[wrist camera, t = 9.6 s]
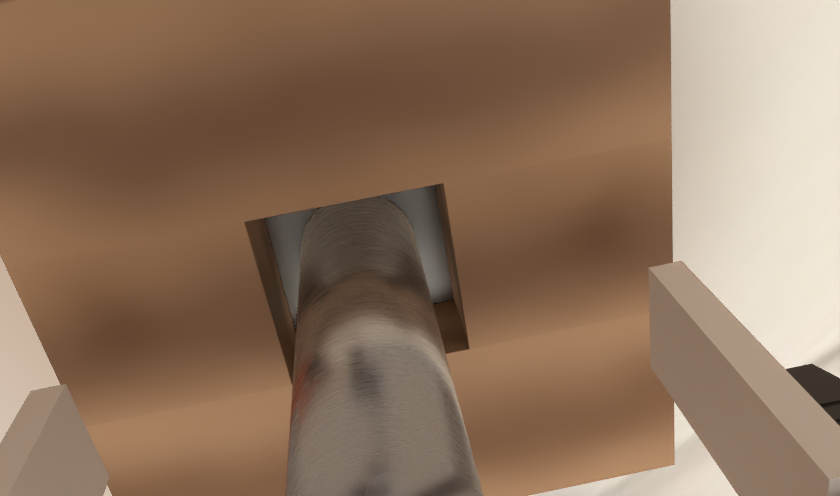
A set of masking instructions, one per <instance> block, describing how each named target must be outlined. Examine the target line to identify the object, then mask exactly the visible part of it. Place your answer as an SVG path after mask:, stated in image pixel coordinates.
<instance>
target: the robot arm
mask: <svg viewBox="0 0 840 496" xmlns="http://www.w3.org/2000/svg"><path fill="white" fill-rule="evenodd" d="M649 316H650V365H651V368H652V369H653V371H654V372H655V374H656V375H657V377H658V378H659V380H660V381H661V383H662V384H663V386H664V387H665V388H666V390H667V391H668V393H669V394H670V396H671V397H672V399H673V400H674V402H675V403H676V405H677V406H678V408H679V409H680V410H681V412H682V413H683V415H684V416H685V418H686V419H687V421H688V422H689V424H690V425H691V427H692V428H693V430H694V431H695V432H696V434H697V435H698V437H699V438H700V440H701V441H702V443H703V444H704V446H705V447H706V449H707V450H708V452H709V453H710V454H711V456H712V457H713V459H714V460H715V462H716V463H717V465H718V466H719V468H720V469H721V471H722V472H723V474H724V475H725V476H726V478H727V479H728V481H729V482H730V484H731V485H732V487H733V488H734V490H735V491H736V493H737V494H738V496H840V378H838V377H836V376H834V375H832V374H831V373H829V372H827V371H825V370H823V369H821V368H819V367H817V366H815V365H813V364H808V365H804V366H799V367H794V368H789V369H785V368H784V367H783V366H782V365H781V364H780V363H779V362H778V361H777V360H776V359H775V358H774V357H773V356H772V355H771V354H770V353H769V352H768V351H767V350H766V349H765V348H764V346H763V345H762V344H761V343H760V342H759V341H758V340H757V339H756V338H755V337H754V336H753V335H752V334H751V333H750V332H749V331H748V330H747V329H746V328H745V327H744V326H743V325H742V324H741V322H740V321H739V320H738V319H737V318H736V317H735V316H734V315H733V314H732V313H731V312H730V311H729V310H728V309H727V308H726V307H725V306H724V305H723V304H722V303H721V302H720V301H719V299H718V298H717V297H716V296H715V295H714V294H713V293H712V292H711V291H710V290H709V289H708V288H707V287H706V286H705V285H704V284H703V283H702V282H701V281H700V280H699V279H698V278H697V276H696V275H695V274H694V273H693V272H692V271H691V270H690V269H689V268H688V267H687V266H686V265H685V264H684V263H683V262H682V261H679V262H674V263H669V264H664V265H659V266H654V267H649ZM109 478H110V477H109V475H108V473H107V470H106V468H105V466H104V464H103V462H102V460H101V458H100V456H99V453H98V451H97V449H96V447H95V445H94V443H93V441H92V439H91V436H90V434H89V432H88V430H87V428H86V426H85V424H84V422H83V419H82V417H81V415H80V413H79V411H78V409H77V407H76V405H75V403H74V400H73V398H72V396H71V394H70V392H69V390H68V388H67V386H66V384H63V385H59V386H53V387H49V388H44V389H39V390H34V391H31V392H30V393H29V395H28V397H27V398H26V400H25V402H24V404H23V405H22V407H21V409H20V411H19V413H18V414H17V416H16V418H15V419H14V421H13V423H12V424H11V426H10V428H9V429H8V431H7V433H6V435H5V436H4V438H3V440H2V442H1V443H0V496H103V494H104V491H105V489H106V486H107V483H108V480H109Z"/></svg>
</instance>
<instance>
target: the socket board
mask: <svg viewBox="0 0 840 496" xmlns="http://www.w3.org/2000/svg"><path fill="white" fill-rule="evenodd" d="M431 185H435V187H436V193H437V199H438V206H439V212H440V218H441V224H442V230H443V236H444V242H445V249H446V255H447V261H448V267H449V273H450V279H451V285H452V292H453V298H454V300H452V301H447V302H442V303H437V304H433V308H434V312H435V315H436V319H437V323H438V327H439V330H440V334H441V338H442V342H443V345H444V349H445V353H446V357H447V360H448V364H449V368H450V372H451V376H452V379H453V383H454V387H455V391H456V394H457V398H458V402H459V406H460V409H461V413H462V417H463V421H464V424H465V428H466V432H467V436H468V439H469V443H470V447H471V451H472V455H473V458H474V462H475V466H476V470H477V473H478V477H479V481H480V485H481V488H482V492H483V496H528V495H533V494H538V493H542V492H547V491H552V490H557V489H561V488H566V487H571V486H576V485H580V484H585V483H590V482H595V481H599V480H604V479H609V478H614V477H618V476H623V475H628V474H633V473H637V472H642V471H647V470H652V469H656V468H661V467H666V466H671V465H674V400H673V399H672V397H671V396H670V394H669V393H668V391H667V390H666V388H665V387H664V386H663V384H662V383H661V381H660V380H659V378H658V377H657V375H656V374H655V372H654V371H653V369H652V368H651V365H650V316H649V267H654V266H659V265H664V264H669V263H673V250H672V142H671V33H670V0H0V255H1V258H2V260H3V262H4V264H5V266H6V268H7V270H8V273H9V275H10V277H11V279H12V281H13V283H14V285H15V288H16V290H17V292H18V294H19V296H20V298H21V300H22V303H23V305H24V307H25V309H26V311H27V313H28V315H29V318H30V320H31V322H32V324H33V326H34V328H35V330H36V332H37V335H38V337H39V339H40V341H41V343H42V346H43V348H44V350H45V352H46V354H47V356H48V358H49V361H50V363H51V365H52V367H53V369H54V371H55V373H56V376H57V378H58V380H59V382H60V384H61V385H63V384H66V386H67V388H68V390H69V392H70V394H71V396H72V398H73V400H74V403H75V405H76V407H77V409H78V411H79V413H80V415H81V417H82V419H83V422H84V424H85V426H86V428H87V430H88V432H89V434H90V436H91V439H92V441H93V443H94V445H95V447H96V449H97V451H98V453H99V456H100V458H101V460H102V462H103V464H104V466H105V468H106V470H107V473H108V475H109V477H110V478H109V480H108V483H107V485H108V487H109V489H110V491H111V494H112V496H285V492H286V477H287V462H288V447H289V432H290V416H291V401H292V386H293V371H294V356H295V341H296V331H295V328H294V324H293V321H292V317H291V314H290V310H289V306H288V303H287V299H286V296H285V292H284V289H283V285H282V281H281V278H280V274H279V271H278V267H277V264H276V260H275V256H274V253H273V249H272V246H271V242H270V239H269V235H268V231H267V228H266V224H265V221H264V218H267V217H272V216H277V215H282V214H287V213H293V212H298V211H303V210H308V209H313V208H318V207H323V206H328V205H334V204H339V203H344V202H349V201H354V200H359V199H364V198H370V197H375V196H380V195H385V194H390V193H395V192H400V191H405V190H411V189H416V188H421V187H426V186H431Z"/></svg>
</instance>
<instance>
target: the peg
mask: <svg viewBox="0 0 840 496" xmlns="http://www.w3.org/2000/svg"><path fill="white" fill-rule="evenodd" d="M285 496H483V492H482V488H481V485H480V481H479V477H478V473H477V470H476V466H475V462H474V458H473V455H472V451H471V447H470V443H469V439H468V436H467V432H466V428H465V424H464V421H463V417H462V413H461V409H460V406H459V402H458V398H457V394H456V391H455V387H454V383H453V379H452V376H451V372H450V368H449V364H448V360H447V357H446V353H445V349H444V345H443V342H442V338H441V334H440V330H439V327H438V323H437V319H436V315H435V312H434V308H433V304H432V300H431V296H430V293H429V289H428V285H427V281H426V278H425V274H424V270H423V266H422V263H421V259H420V255H419V251H418V248H417V244H416V240H415V236H414V233H413V229H412V226H411V224H410V222H409V220H408V218H407V217H406V215H405V214H404V213H403V212H402V211H401V210H400V209H399V208H398V207H397V206H396V205H394V204H393V203H392V202H390V201H388V200H386V199H384V198H382V197H379V196H375V197H370V198H364V199H359V200H354V201H349V202H344V203H339V204H334V205H328V206H323V207H320V208H319V209H318V210H317V211H316V212H315V213H314V214H313V215H312V217H311V218H310V220H309V221H308V223H307V225H306V228H305V230H304V234H303V238H302V250H301V265H300V280H299V295H298V310H297V325H296V341H295V356H294V371H293V386H292V401H291V416H290V432H289V447H288V462H287V477H286V492H285Z"/></svg>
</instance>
